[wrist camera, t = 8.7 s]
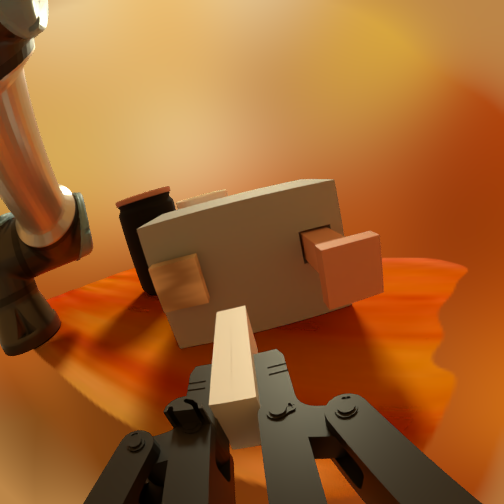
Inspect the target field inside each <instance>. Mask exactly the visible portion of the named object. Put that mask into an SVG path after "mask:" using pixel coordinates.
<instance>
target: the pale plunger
mask: <svg viewBox="0 0 504 504" xmlns="http://www.w3.org/2000/svg"><path fill="white" fill-rule="evenodd" d="M148 270H149V273H150V276H151V279H152V282H153V285H154V287H155V290H156V293H157V295H158V298H159V301H160V303H161V306H162V309H163V311H164V313H166V312H171V311H175V310H180V309H184V308H189V307H193V306H198V305H202V304H206V303H209V298H210V296H209V293H208V290H207V286H206V283H205V280H204V277H203V274H202V270H201V267H200V264H199V260H198V257H197V254H196V253H195V254H191V255H187V256H183V257H179V258H175V259H172V260H168V261H164V262H160V263H156V264H153V265H151V267H150V268H149V269H148Z"/></svg>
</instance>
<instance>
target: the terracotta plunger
mask: <svg viewBox="0 0 504 504" xmlns="http://www.w3.org/2000/svg"><path fill="white" fill-rule="evenodd" d="M298 233H299V238H300V243H301V248H302V253H303V257H304V258H305V259H306V260H307V261H308V262H309V263H310V265H311V266H312V267H313V268H314V269H315V270H316V271H317V272H318V273H319V276H320V282H321V289H322V295H323V302H324V303H325V304H326V306H327V307H328V308H329V310H331V309H334V308H338V307H341V306H344V305H347V304H350V303H353V302H356V301H359V300H362V299H365V298H368V297H371V296H374V295H377V294H380V293H383V292H384V291H383V272H382V258H381V246H380V237H379V235H378V234H376V233H374V232H371V231H367V232H364V233H360V234H356V235H352V236H349V237H345V236H343V235H341V234H339V233H337V232H335V231H333V230H332V229H330V228H328V227H326V226H321V227H316V228H312V229H308V230H304V231H300V232H298Z"/></svg>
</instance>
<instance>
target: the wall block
mask: <svg viewBox="0 0 504 504" xmlns="http://www.w3.org/2000/svg"><path fill="white" fill-rule="evenodd" d="M321 226H326V227H328V228H330V229H332V230H333V231H335V232H337V233H339V234H341V235H343V236H344V233H343V226H342V220H341V214H340V208H339V203H338V197H337V192H336V187H335V182H334V180H328V179H301V180H296V181H291V182H286V183H282V184H278V185H273V186H269V187H264V188H260V189H256V190H252V191H247V192H243V193H239V194H235V195H231V196H227V197H223V198H219V199H215V200H211V201H208V202H204V203H200V204H197V205H193V206H189V207H186V208H182V209H179V210H175V211H172V212H168V213H165V214H162V215H160V216H159V217H157V218H155V219H153V220H151V221H150V222H148V223H146V224H144V225H143V226H141V227H139V228H138V229H137V233H138V236H139V239H140V242H141V245H142V249H143V252H144V255H145V258H146V261H147V264H148V267H149V268H150V267H151V265H153V264H156V263H160V262H164V261H168V260H172V259H175V258H179V257H183V256H187V255H191V254H195V253H196V254H197V257H198V260H199V264H200V267H201V270H202V274H203V277H204V280H205V283H206V286H207V290H208V293H209V296H210V298H209V303H206V304H202V305H198V306H193V307H189V308H184V309H180V310H175V311H171V312H166V316H167V318H168V321H169V323H170V326H171V328H172V331H173V333H174V335H175V338H176V340H177V343H178V345H179V347H180V349H181V348H187V347H192V346H197V345H202V344H207V343H212V342H214V335H215V324H216V314H217V312H219V311H224V310H228V309H232V308H237V307H241V306H246V310H247V313H248V317H249V320H250V324H251V328H252V331H253V333H255V332H259V331H263V330H267V329H271V328H275V327H279V326H283V325H286V324H290V323H294V322H297V321H301V320H304V319H308V318H311V317H315V316H318V315H321V314H325V313H328V312H331V311H334V310H337V309H341V308H344V307H347V306H350V305H352V303H350V304H347V305H344V306H341V307H338V308H334V309H331V310H329V308H328V307H327V306H326V304H325V303H324V302H323V295H322V289H321V282H320V276H319V273H318V272H317V271H316V270H315V269H314V268H313V267H312V266H311V265H310V263H309V262H308V261H307V260H306V259H305V258H304V257H303V253H302V248H301V243H300V238H299V233H298V232H300V231H304V230H308V229H312V228H316V227H321Z"/></svg>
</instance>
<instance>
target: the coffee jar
mask: <svg viewBox="0 0 504 504" xmlns="http://www.w3.org/2000/svg"><path fill="white" fill-rule="evenodd" d="M169 191H170V187H169V186H167V187H162V188H158V189H155V190H151V191H148V192H145V193H142V194H138V195H136V196H132V197H130V198H127V199H124V200H121V201H119V202H117V203H116V206H117V208H118V207H119V208H118V209H120V215H119V218H120V222H121V225H122V229H123V232H124V235H125V239H126V241H127V245H128V248H129V251H130V254H131V257H132V260H133V263H134V266H135V269H136V272H137V275H138V277H139V280H140V283H141V286H142V288H143V290H144V291H146V292H147V293H148V294H150V295H157V293H156V290H155V287H154V285H153V282H152V279H151V276H150V273H149V270H148V269H149V267H148V264H147V261H146V258H145V255H144V252H143V249H142V245H141V242H140V239H139V236H138V233H137V229H138V228H139V227H141V226H143V225H144V224H146V223H148V222H150V221H151V220H153V219H155V218H157V217H159V216H160V215H162V214H165V213H168V212H172V211H175V210H176V209H175V205H174V202H173V199H172V198H171V197H169Z"/></svg>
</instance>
